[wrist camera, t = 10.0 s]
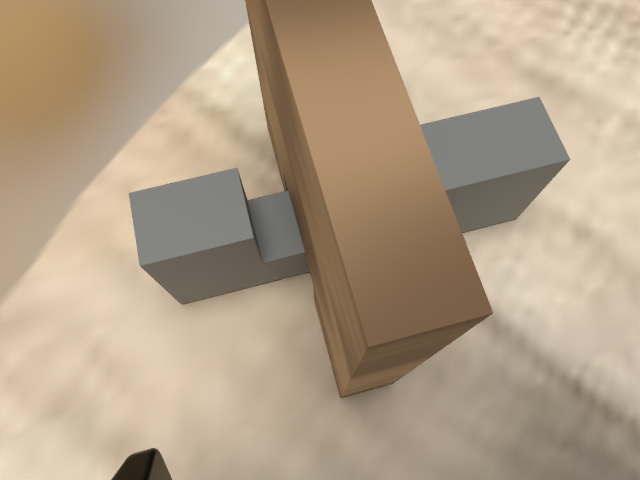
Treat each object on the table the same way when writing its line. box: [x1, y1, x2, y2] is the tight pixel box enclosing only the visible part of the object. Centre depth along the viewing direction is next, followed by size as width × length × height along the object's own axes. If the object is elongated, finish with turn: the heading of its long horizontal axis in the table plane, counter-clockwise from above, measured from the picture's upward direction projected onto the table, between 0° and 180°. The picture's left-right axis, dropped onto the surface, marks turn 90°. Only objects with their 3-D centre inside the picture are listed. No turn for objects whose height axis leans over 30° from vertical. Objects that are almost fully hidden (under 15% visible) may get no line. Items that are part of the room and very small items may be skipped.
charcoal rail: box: [129, 97, 570, 304], centre depth 19 cm, size 14×2×5 cm, turn 105°
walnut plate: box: [245, 0, 493, 398], centre depth 16 cm, size 12×2×12 cm, turn 15°
